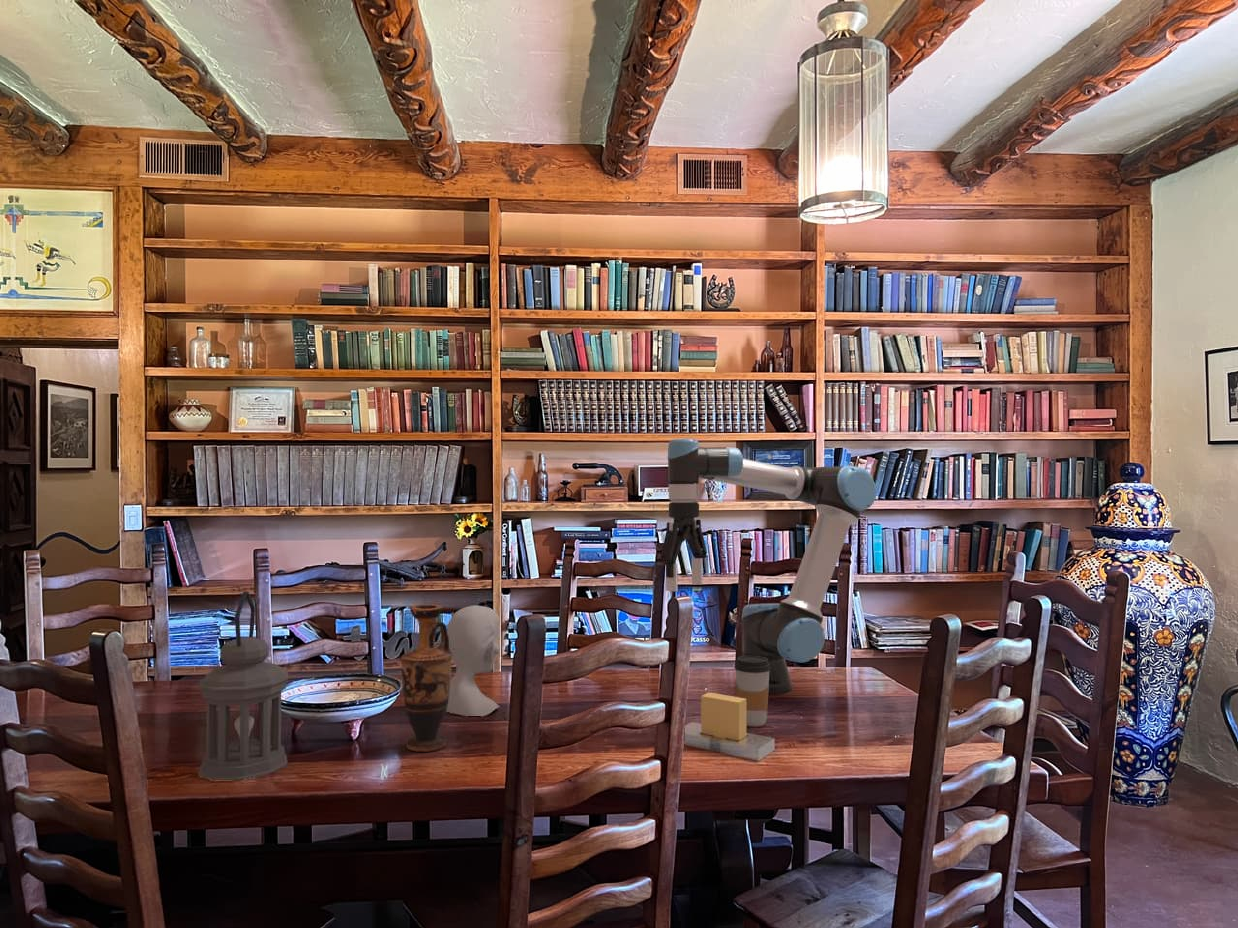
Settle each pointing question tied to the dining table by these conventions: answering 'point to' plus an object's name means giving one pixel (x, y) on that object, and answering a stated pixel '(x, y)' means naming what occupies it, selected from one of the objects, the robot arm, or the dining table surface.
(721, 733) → the yellow block
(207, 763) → the lantern
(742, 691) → the coffee cup
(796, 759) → the dining table surface
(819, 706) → the dining table surface
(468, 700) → the head bust
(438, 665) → the vase
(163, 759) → the dining table surface
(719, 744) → the grey slotted base plate
